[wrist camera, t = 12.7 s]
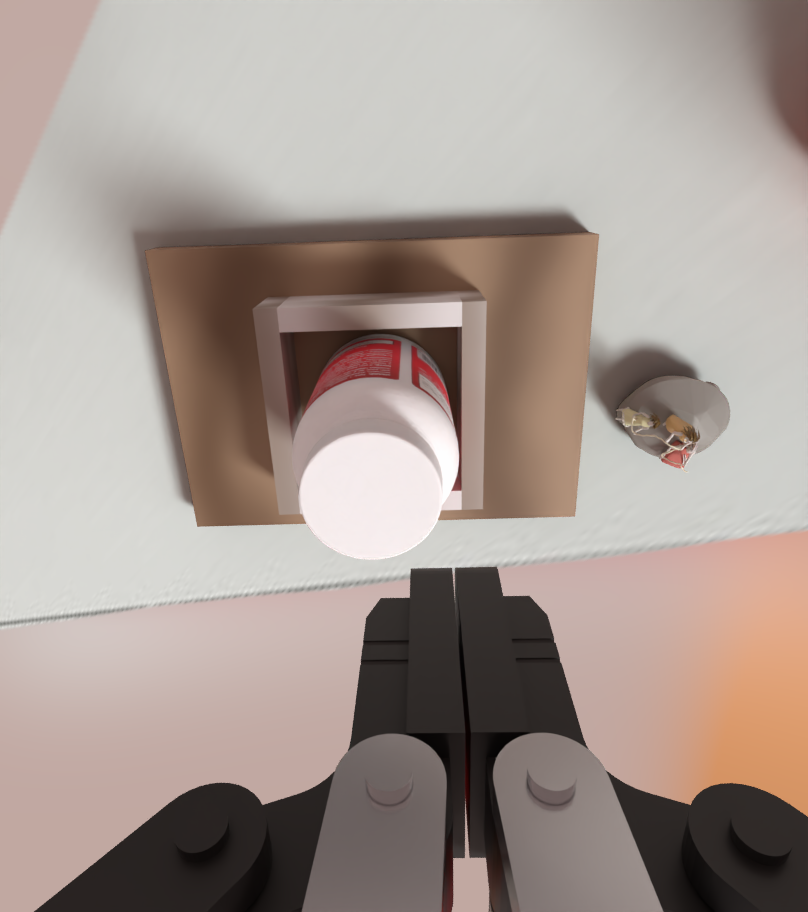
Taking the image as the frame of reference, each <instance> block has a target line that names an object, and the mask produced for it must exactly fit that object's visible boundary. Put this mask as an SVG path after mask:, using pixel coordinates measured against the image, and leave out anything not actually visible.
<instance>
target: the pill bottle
mask: <svg viewBox="0 0 808 912" xmlns="http://www.w3.org/2000/svg"><path fill="white" fill-rule="evenodd" d="M292 465H293V470H294V475H295V478H296V481H297V484H298V486H299V492H298V495H299V505H300V509H301V512H302V515H303V518H304V520H305V522H306V524H307V525H308V527H309V529H310V530H311V531H312V532H313V534H314V535H315V536H316V537H317V538H318V539H319V540H320V541H321V542H322V543H324V544H325V545H326V546H328V547H329V548H331V549H333V550H335V551H337V552H339V553H341V554H344V555H346V556H350V557H353V558H359V559H384V558H389V557H393V556H396V555H400V554H402V553H404V552H406V551H408V550H410V549H412V548H413V547H415V546H416V545H418V544H419V543H420V542H421V541H422V540H424V539H425V538H426V537H427V536H428V534H429V533H430V532H431V530H432V529H433V528H434V526H435V524H436V522H437V520H438V518H439V516H440V512H441V508H442V504H443V503H444V502H445V500H446V499H447V497H448V496H449V494H450V492H451V490H452V488H453V485H454V483H455V480H456V477H457V472H458V466H459V449H458V440H457V436H456V432H455V427H454V423H453V418H452V413H451V408H450V403H449V398H448V394H447V389H446V385H445V381H444V378H443V375H442V373H441V371H440V369H439V367H438V365H437V364H436V362H435V361H434V359H433V358H432V357H431V356H430V355H429V354H428V353H427V352H426V351H425V350H424V349H423V348H422V347H420V346H419V345H417V344H416V343H414V342H412V341H410V340H408V339H405V338H403V337H400V336H395V335H389V334H372V335H366V336H362V337H359V338H357V339H354V340H352V341H350V342H349V343H347V344H345V345H344V346H342V347H341V348H340V349H339V350H338V351H337V352H335V354H334V355H333V356H332V357H331V358H330V359H329V361H328V362H327V364H326V365H325V367H324V369H323V371H322V373H321V375H320V377H319V379H318V382H317V384H316V386H315V389H314V391H313V393H312V395H311V397H310V400H309V402H308V404H307V406H306V409H305V411H304V413H303V415H302V418H301V420H300V422H299V425H298V428H297V431H296V434H295V437H294V441H293V448H292Z"/></svg>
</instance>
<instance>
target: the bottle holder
mask: <svg viewBox="0 0 808 912" xmlns="http://www.w3.org/2000/svg"><path fill="white" fill-rule="evenodd" d="M598 240H599V234H595V233H591V232H581V233H553V234H525V235H497V236H469V237H441V238H414V239H386V240H358V241H330V242H302V243H274V244H246V245H218V246H190V247H162V248H154V249H150V250H145V254H146V259H147V265H148V270H149V275H150V280H151V286H152V291H153V296H154V301H155V307H156V312H157V317H158V322H159V328H160V333H161V338H162V343H163V349H164V354H165V359H166V364H167V370H168V375H169V380H170V385H171V391H172V396H173V401H174V406H175V412H176V417H177V422H178V427H179V433H180V438H181V443H182V448H183V454H184V459H185V464H186V469H187V475H188V480H189V485H190V490H191V496H192V501H193V506H194V511H195V517H196V522H197V527H199V526H236V525H273V524H306V522H305V520H304V518H303V515H302V512H301V509H300V505H299V495H298V492H299V486H298V484H297V481H296V478H295V475H294V470H293V465H292V448H293V441H294V437H295V434H296V431H297V428H298V425H299V422H300V420H301V418H302V415H303V413H304V411H305V409H306V406H307V404H308V402H309V400H310V397H311V395H312V393H313V391H314V389H315V386H316V384H317V382H318V379H319V377H320V375H321V373H322V371H323V369H324V367H325V365H326V364H327V362H328V361H329V359H330V358H331V357H332V356H333V355H334V354H335V352H337V351H338V350H339V349H340V348H341V347H342V346H344V345H345V344H347V343H349V342H350V341H352V340H354V339H357V338H359V337H362V336H366V335H372V334H389V335H395V336H400V337H403V338H405V339H408V340H410V341H412V342H414V343H416V344H417V345H419V346H420V347H422V348H423V349H424V350H425V351H426V352H427V353H428V354H429V355H430V356H431V357H432V358H433V359H434V361H435V362H436V364H437V365H438V367H439V369H440V371H441V373H442V375H443V378H444V381H445V385H446V389H447V394H448V398H449V403H450V408H451V413H452V418H453V423H454V427H455V432H456V436H457V440H458V449H459V466H458V472H457V477H456V480H455V483H454V485H453V488H452V490H451V492H450V494H449V496H448V497H447V499H446V500H445V502H444V503H443V504H442V508H441V512H440V516H439V518H438V520H459V519H497V518H534V517H571V516H575V510H576V499H577V487H578V475H579V463H580V452H581V440H582V428H583V416H584V405H585V393H586V381H587V369H588V358H589V346H590V334H591V322H592V311H593V299H594V287H595V275H596V264H597V252H598Z"/></svg>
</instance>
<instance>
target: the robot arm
mask: <svg viewBox="0 0 808 912" xmlns="http://www.w3.org/2000/svg"><path fill="white" fill-rule="evenodd" d="M465 801H466V814H467V826H468V827H467V828H468V842H469V855H470V858H471V857H472V858H475V857H478V858H479V857H480V858H484V857H485V858H486V862H487V872H488V883H489V912H808V817H807V816H806V815H804V814H803V813H801V812H800V811H798V810H797V809H796V808H794V807H793V806H791V805H790V804H788V803H786V802H785V801H783V800H781V799H780V798H778V797H777V796H774V795H772V794H770V793H768V792H766V791H763V790H761V789H758V788H755V787H751V786H747V785H742V784H733V783H729V784H728V783H727V784H718V785H714V786H710V787H708V788H706V789H704V790H703V791H701V792H700V793H699V794H698V795H697V796H696V797H695V798H694V800H693V801H692V804H691V805H688V804H685V803H681V802H678V801H674V800H671V799H667V798H664V797H660V796H657V795H653V794H650V793H646V792H644V791H641V790H638V789H635V788H633V787H631V786H629V785H627V784H625V783H623V782H622V781H620V780H618V779H617V778H615V777H614V776H613V775H611V774H610V773H609V772H607V771H606V770H605V768H604V766H603V765H602V763H601V762H600V761H599V759H598V758H597V757H596V756H595V755H594V754H593V753H592V752H591V751H589V749H588V748H587V746H586V743H585V741H584V738H583V735H582V732H581V728H580V725H579V722H578V718H577V715H576V711H575V708H574V705H573V701H572V698H571V694H570V691H569V687H568V684H567V681H566V677H565V674H564V670H563V667H562V664H561V663H560V657H559V653H558V650H557V647H556V643H554V636H553V633H552V630H551V626H550V623H549V619H548V616H547V614H546V613H545V612H544V611H543V610H542V609H541V608H540V607H539V606H538V605H537V604H536V603H535V602H534V601H533V599H532V598H531V597H530V596H503V593H502V588H501V583H500V578H499V573H498V569H497V567H470V568H455V599H454V587H453V574H452V568H418V569H411V577H410V598H381V599H380V600H379V602H378V603H377V604H376V606H375V607H374V608H373V610H372V611H371V612H370V614H369V615H368V616H367V618H366V624H365V632H364V640H363V649H362V656H361V665H360V672H359V680H358V688H357V696H356V705H355V712H354V720H353V728H352V736H351V742H350V747H349V749H348V752H347V753H346V754H345V755H344V756H343V758H342V759H341V760H340V762H339V764H338V765H337V767H336V770H335V772H333V773H332V774H331V775H330V776H329V777H328V778H327V779H326V780H324V781H323V782H321V783H320V784H319V785H317V786H315V787H313V788H311V789H309V790H307V791H305V792H302V793H300V794H297V795H294V796H290V797H287V798H284V799H281V800H278V801H274V802H271V803H268V804H265V805H262V804H261V802H260V800H259V799H258V798H257V797H256V796H255V794H254V793H252V792H251V791H249V790H248V789H246V788H244V787H242V786H239V785H236V784H231V783H214V784H208V785H204V786H200V787H197V788H195V789H192V790H190V791H188V792H186V793H184V794H182V795H180V796H179V797H177V798H176V799H175V800H173V801H172V802H170V803H169V804H168V805H166V806H165V807H164V808H163V809H161V810H160V811H159V812H158V813H156V814H155V815H154V816H153V817H152V818H150V819H149V820H148V821H147V822H145V823H144V824H143V825H142V826H140V827H139V828H138V829H137V830H135V831H134V832H133V833H132V834H130V835H129V836H128V837H127V838H125V839H124V840H123V841H122V842H120V843H119V844H118V845H117V846H115V847H114V848H113V849H112V850H110V851H109V852H108V853H107V854H105V855H104V856H103V857H102V858H101V859H99V860H98V861H97V862H96V863H94V864H93V865H92V866H90V867H89V868H88V869H87V870H86V871H84V872H83V873H82V874H80V875H79V876H78V877H77V878H76V879H74V880H73V881H72V882H71V883H69V884H68V885H67V886H65V887H64V888H63V889H62V890H61V891H59V892H58V893H57V894H56V895H54V896H53V897H52V898H51V899H49V900H48V901H47V902H46V903H44V904H43V905H42V906H41V907H39V908H38V909H37V910H36V911H34V912H451V911H452V907H453V858H465Z"/></svg>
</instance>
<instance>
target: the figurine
mask: <svg viewBox="0 0 808 912" xmlns="http://www.w3.org/2000/svg"><path fill="white" fill-rule="evenodd" d="M616 411H617V418H615V420H619V422H620V423H622V424H623V425H624V427H625V430H626V432H627V433H628V435H629V436H630V438H631V439H632V441H633V442H634V444H635V445H636V446H637V447H639V448H640V449H642V450H644V451H645V452H647V453H649V454H651V455H654V456H657V457H659V459H661V461H662V462H664V463H666V464H669V465H671V466H674V467H676V468H682V469H683V468H684V466H686V464H687V463H688V461H689V459H690V458H691V456H692V455H694V454H696V453H699V452H701V451H703V450H705V449H706V448H708V447H709V446H710V445H711V444H712V443H713V442H714V441H715V440H716V439H717V438H718V437H719V436H720V435H721V433H722V432H723V431H724V430H725V429H726V428H727V426H728V423H729V419H730V407H729V403H728V401H727V398H726V397H725V395H724V394H723V393H722V392H721V391H720V389H719V387H718V386H717V385H715V384H714V383H711V382H703V381H701V380H697V379H693V378H689V377H685V376H662V377H657V378H654V379H652V380H649V381H647V382H646V383H644V384H643V385H642V386H640V387H639V388H637V389H636V390H635V391H634V392H633V393H631V394H630V395H629V396H628V397H627V398H626V399H625V400H624V401H623V402H622V403H621V404H620V406H619V408H618V409H616ZM689 455H690V456H689ZM688 456H689V457H688ZM686 459H687V460H686ZM683 471H684V472H686V471H685V470H684V469H683Z"/></svg>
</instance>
